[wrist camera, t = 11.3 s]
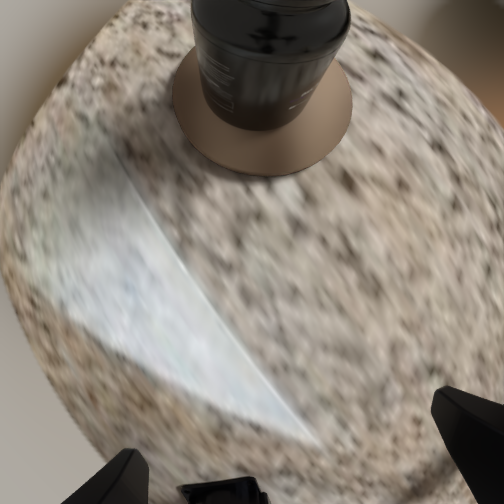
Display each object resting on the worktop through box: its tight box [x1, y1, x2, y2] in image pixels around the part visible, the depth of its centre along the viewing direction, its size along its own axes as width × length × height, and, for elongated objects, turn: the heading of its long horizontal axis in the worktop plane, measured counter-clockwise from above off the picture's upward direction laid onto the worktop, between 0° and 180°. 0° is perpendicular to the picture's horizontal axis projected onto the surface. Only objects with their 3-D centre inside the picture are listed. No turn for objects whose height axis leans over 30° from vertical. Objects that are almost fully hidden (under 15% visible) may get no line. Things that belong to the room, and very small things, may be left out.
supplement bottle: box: [191, 0, 351, 131], centre depth 11 cm, size 7×7×12 cm
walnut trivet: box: [172, 46, 352, 176], centre depth 18 cm, size 12×12×1 cm
